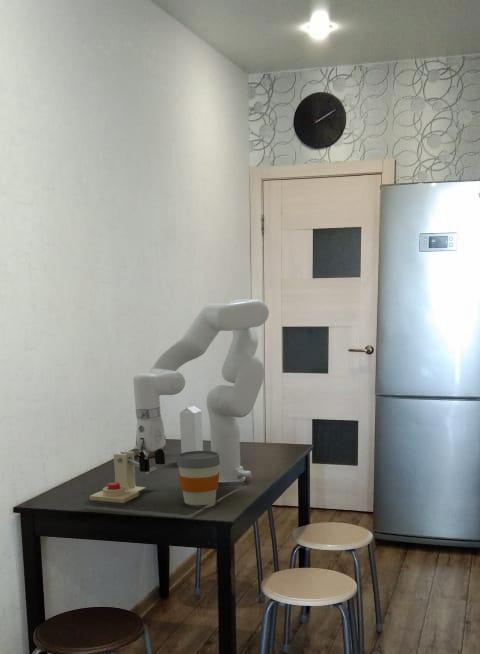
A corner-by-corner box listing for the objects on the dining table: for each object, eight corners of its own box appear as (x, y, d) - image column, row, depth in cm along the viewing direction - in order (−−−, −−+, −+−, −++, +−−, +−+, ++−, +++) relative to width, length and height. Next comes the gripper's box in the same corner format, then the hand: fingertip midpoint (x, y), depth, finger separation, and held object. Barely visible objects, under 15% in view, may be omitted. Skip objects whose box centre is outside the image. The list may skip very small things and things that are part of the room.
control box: (139, 498, 260) (138, 486, 260) (123, 506, 252) (123, 492, 251) (105, 495, 265) (105, 483, 264) (89, 502, 257) (88, 490, 256)
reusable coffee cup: (226, 507, 247) (224, 457, 245) (184, 511, 244) (181, 460, 241) (215, 497, 259) (213, 449, 257) (174, 501, 256) (172, 452, 253)
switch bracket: (146, 490, 270) (144, 451, 268) (133, 496, 263) (131, 456, 260) (119, 488, 274) (116, 449, 272) (105, 494, 267) (103, 454, 264)
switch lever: (156, 473, 266) (157, 466, 265) (148, 476, 261) (150, 469, 260) (123, 458, 269) (125, 451, 269) (115, 462, 265) (117, 455, 264)
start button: (122, 488, 259) (121, 482, 259) (115, 491, 256) (115, 485, 255) (112, 487, 260) (111, 481, 260) (105, 490, 257) (105, 484, 257)
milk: (203, 461, 312) (201, 402, 308) (196, 464, 307) (194, 404, 303) (188, 460, 315) (186, 401, 311) (181, 463, 309) (179, 403, 305)
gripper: (145, 419, 251) (149, 475, 254) (172, 408, 266) (176, 461, 270) (123, 418, 254) (127, 474, 257) (151, 408, 269) (155, 460, 273)
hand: (152, 467), depth 264 cm, fingers open, 9 cm apart
